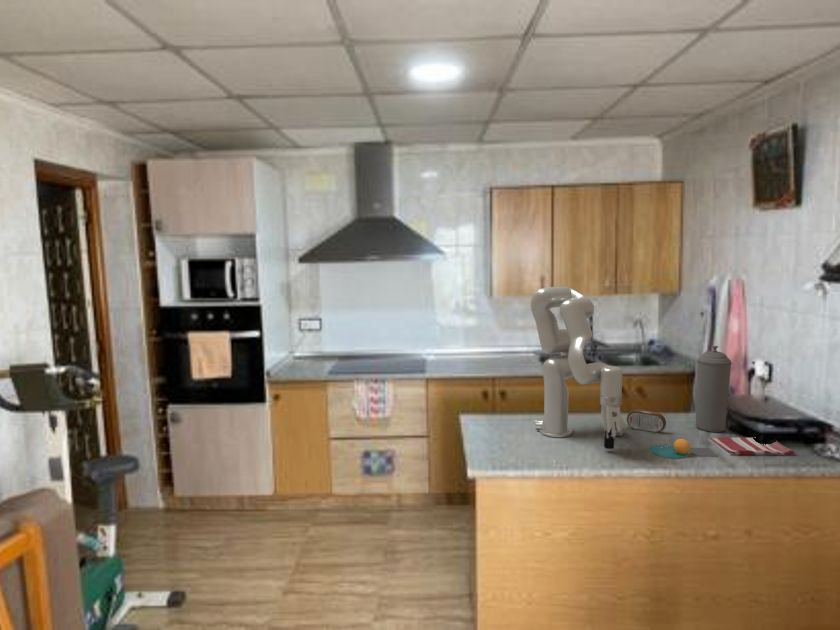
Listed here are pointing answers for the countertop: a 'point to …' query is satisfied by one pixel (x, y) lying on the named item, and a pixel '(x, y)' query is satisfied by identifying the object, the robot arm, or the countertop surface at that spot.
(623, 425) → the die
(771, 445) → the dish towel
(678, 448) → the ball
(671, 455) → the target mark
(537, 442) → the countertop surface
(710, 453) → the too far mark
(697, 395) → the canister
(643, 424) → the tin
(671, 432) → the countertop surface
